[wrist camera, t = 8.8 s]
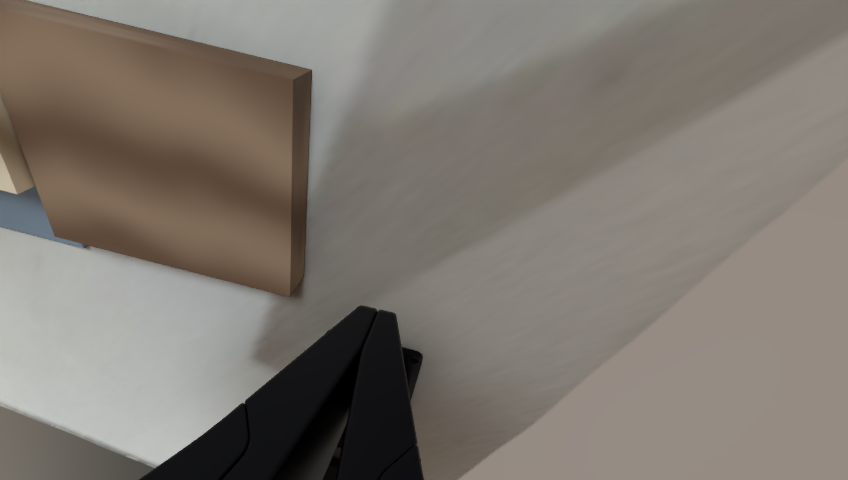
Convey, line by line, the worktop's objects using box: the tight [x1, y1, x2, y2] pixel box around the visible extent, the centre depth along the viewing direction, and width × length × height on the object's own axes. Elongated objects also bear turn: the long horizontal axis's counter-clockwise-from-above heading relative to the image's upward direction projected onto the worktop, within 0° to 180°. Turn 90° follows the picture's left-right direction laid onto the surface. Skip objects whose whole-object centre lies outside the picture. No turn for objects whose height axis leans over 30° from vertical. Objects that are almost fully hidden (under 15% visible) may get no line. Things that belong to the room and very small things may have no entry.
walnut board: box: [0, 0, 312, 297], centre depth 21 cm, size 12×14×2 cm
